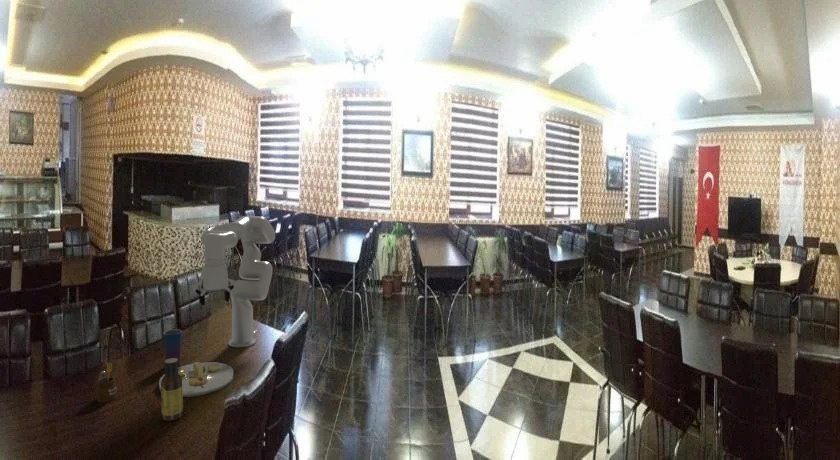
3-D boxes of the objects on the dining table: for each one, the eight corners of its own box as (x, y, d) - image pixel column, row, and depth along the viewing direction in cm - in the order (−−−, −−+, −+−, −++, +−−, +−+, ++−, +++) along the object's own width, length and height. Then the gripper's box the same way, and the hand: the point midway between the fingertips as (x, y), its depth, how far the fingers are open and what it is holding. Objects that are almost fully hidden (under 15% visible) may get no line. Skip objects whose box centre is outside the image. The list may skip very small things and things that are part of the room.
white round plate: (195, 364, 186) (195, 354, 185) (247, 373, 179) (247, 363, 178) (142, 390, 161) (142, 379, 160) (199, 402, 154) (199, 390, 153)
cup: (160, 366, 181) (159, 332, 180) (175, 361, 187) (175, 328, 186) (170, 370, 178) (169, 335, 177) (185, 365, 184) (185, 331, 183)
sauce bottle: (167, 412, 146) (166, 355, 144) (186, 411, 147) (185, 355, 145) (157, 422, 140) (156, 363, 138) (177, 422, 141) (177, 363, 139)
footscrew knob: (186, 381, 163) (186, 363, 163) (204, 377, 168) (204, 359, 167) (192, 388, 158) (192, 370, 158) (210, 383, 163) (210, 365, 162)
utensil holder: (93, 403, 150) (92, 370, 149) (101, 395, 156) (100, 363, 155) (112, 402, 151) (111, 369, 150) (119, 393, 157) (119, 362, 156)
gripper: (232, 259, 187) (232, 297, 189) (189, 263, 175) (189, 304, 177) (239, 262, 182) (239, 301, 184) (195, 265, 170) (195, 308, 172)
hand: (214, 302), depth 180 cm, fingers open, 9 cm apart
